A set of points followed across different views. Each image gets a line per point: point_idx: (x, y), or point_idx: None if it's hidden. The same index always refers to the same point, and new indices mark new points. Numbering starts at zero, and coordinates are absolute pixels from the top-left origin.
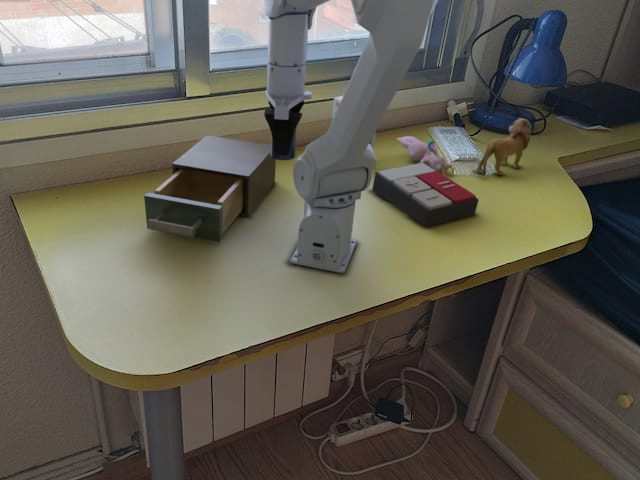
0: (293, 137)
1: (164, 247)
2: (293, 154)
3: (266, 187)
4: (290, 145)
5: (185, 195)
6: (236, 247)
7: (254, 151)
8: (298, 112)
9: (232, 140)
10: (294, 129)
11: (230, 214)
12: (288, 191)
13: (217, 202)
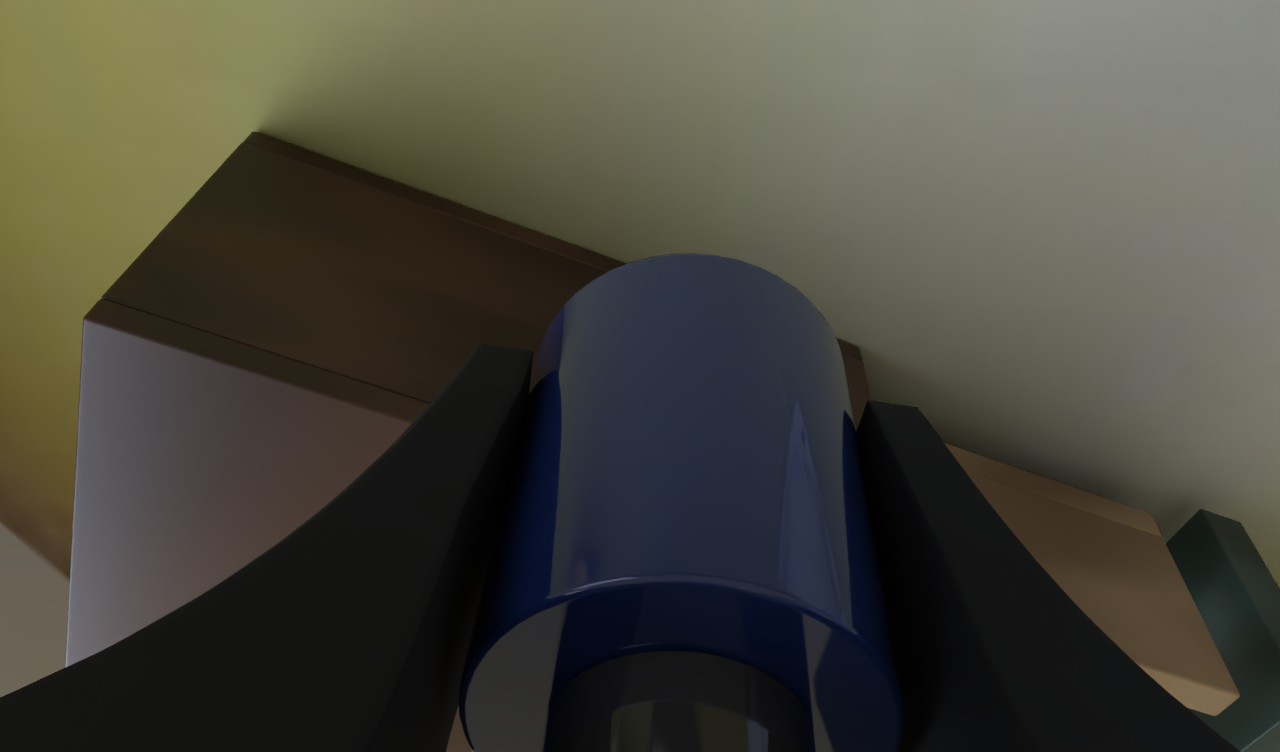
0: (836, 499)
1: None
2: (799, 316)
3: (467, 239)
4: (982, 497)
5: None
6: (1254, 423)
7: (316, 509)
8: (400, 685)
9: (101, 638)
10: (1211, 732)
11: (1057, 526)
12: (394, 22)
13: (1216, 712)
